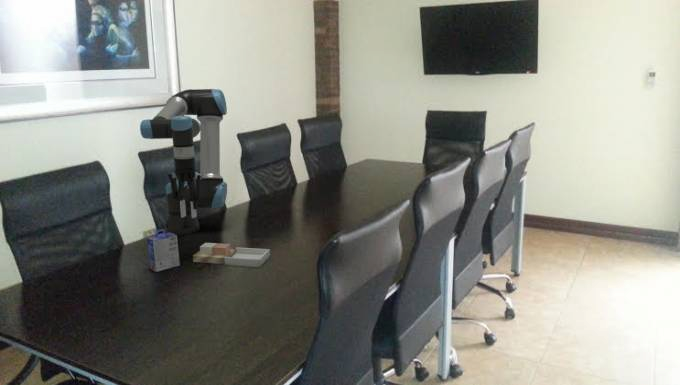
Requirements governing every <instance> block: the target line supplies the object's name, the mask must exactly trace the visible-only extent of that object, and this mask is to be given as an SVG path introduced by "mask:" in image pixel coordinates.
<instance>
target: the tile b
mask: <svg viewBox="0 0 680 385" xmlns="http://www.w3.org/2000/svg"><path fill="white" fill-rule="evenodd" d="M231 246H232V245H231V244H230V243H217V245H216V246H214V247H213V253H214V255H224V256H226V255H227V254H228V253H229V252H231V249H232V247H231Z"/></svg>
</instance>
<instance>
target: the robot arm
mask: <svg viewBox="0 0 680 385" xmlns="http://www.w3.org/2000/svg"><path fill="white" fill-rule="evenodd" d="M227 108H228V107H227V101H226V97H225V95H224V93H223V91H222V90H221V89H218V88H217V89H214V88H205V89H203V88H202V89H201V88H200V89H198V88H197V89H191V88H190V89H185V90H184V89H183V90H182V91H179V92H178V93H175V94H173V95H171V97H169V98H168V99H167V100H166V103H165V106H164V107H163V108H162V109H160V111H159V112H157V114H156V115H155V116H154V117H153V118H152V119H149V118H148V119H143V120H141V122H140V126H139V130H140V131H139V132H140V135H141V137H142V139H147V140H149V139H150V140H158V139H159V140H161V139H162V140H166V139H167V140H168V139H169V140H170V139H171V140H172V150H173V157H174V159H173V162H174V172H170V173H169V174H168V175H167V176H168V178H169V181H170V182H168V183H167V184H166V186H165V197H166V206H167V207H166V208H167V218H166V222H165V226H164V230H165V232H166V234H167V233H173V234H176V235H177V236H181V235H183V236H184V235H188V234H189V235H190V234H193V233H196V232H198V231H199V230H200V223H199V221H198V218H197V215H198V214H197V209H216V208H217V209H218V208H222V207H224V205H225V203H226V200H227V195H228V184H227V182H225V181H224V177H223V176H221V171H220V170H221V168H220V167H221V166H220V164H221V160H220V159H221V158H220V155H221V152H220V151H221V149H220V147H221V145H220V144H221V143H220V142H221V141H220V138H221V137H220V136H221V134H220V133H221V132H220V131H221V130H220V129H221V127H220V125H221V124H220V123H221V122H222V121H223V119H224V116H225V115H227V114H228V112H227ZM192 116H196V119H195V118H192ZM199 134H200V135H199ZM198 135H199V136H200V137H199V140H200V144H199V145H200V150H199V152H200V157H199V158H200V160H199V161H200V171H199V172H200V173H198V172H197V169H196V160H195V147H194V138H196V137H197V136H198ZM194 178H195V179H196V180H195V179H194Z"/></svg>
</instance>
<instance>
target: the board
mask: <svg viewBox="0 0 680 385" xmlns="http://www.w3.org/2000/svg"><path fill="white" fill-rule="evenodd" d="M235 254H236V249H234V248H233V249H232V248H231V252H229V253H228V254H227V255H226V256H224V255H214V254H213V255H208V254H200V250H199V251H197V252H195V254H193V255H192V261H193V262H192V263H203V264H204V263H205V264H219V265H225V257H232V256H234V255H235Z"/></svg>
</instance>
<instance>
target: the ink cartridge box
mask: <svg viewBox="0 0 680 385" xmlns="http://www.w3.org/2000/svg"><path fill="white" fill-rule="evenodd" d="M154 231H155V236H151V237H148V238H146V240H147V248H148V249H147V250H148V255H149V256H148V258H149V266H150V269H151V270H152V271H153V272H155V273H157V272H161V271H164V270H169V269H172V268H176V267H179V266H180V255H179V245H178V244H179V243H178V235H176V234H173V233H166V232H165V228H162V229H161V228H160V229H156V230H154ZM159 232H160V233H159ZM161 232H162V233H161Z"/></svg>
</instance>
